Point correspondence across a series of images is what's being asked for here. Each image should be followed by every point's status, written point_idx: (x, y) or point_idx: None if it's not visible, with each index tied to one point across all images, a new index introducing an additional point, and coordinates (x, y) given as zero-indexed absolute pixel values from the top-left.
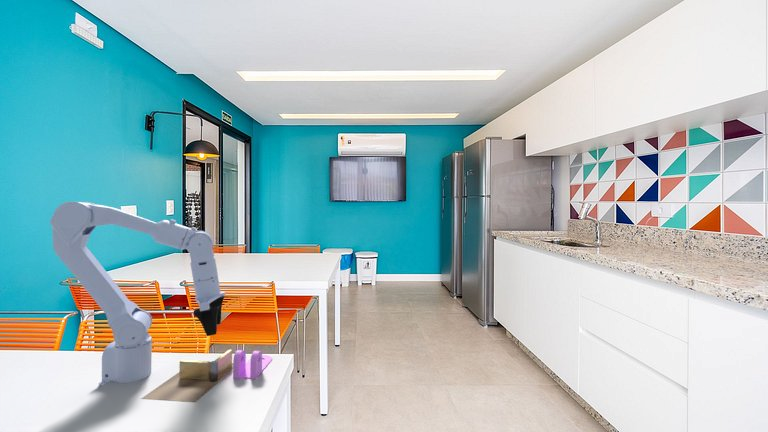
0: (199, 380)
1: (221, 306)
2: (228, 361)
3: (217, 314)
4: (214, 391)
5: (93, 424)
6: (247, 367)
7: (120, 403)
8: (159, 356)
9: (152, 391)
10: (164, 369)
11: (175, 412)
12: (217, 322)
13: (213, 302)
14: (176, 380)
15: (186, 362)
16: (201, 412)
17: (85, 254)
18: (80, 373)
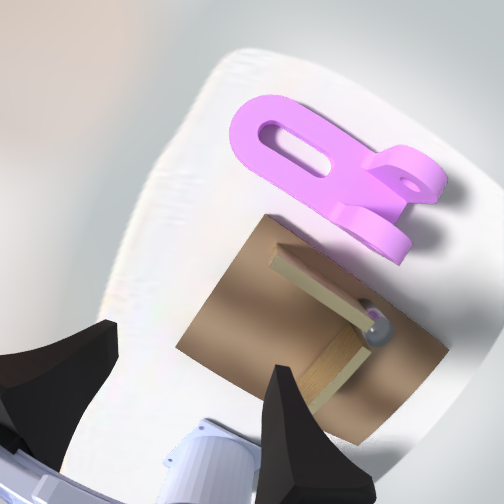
0: None
1: (39, 358)
2: (300, 264)
3: (84, 362)
4: (400, 304)
5: (382, 475)
6: (325, 193)
7: None
8: (95, 401)
9: (336, 434)
10: (182, 407)
11: (437, 379)
12: (112, 340)
13: (41, 429)
14: None
15: (317, 408)
16: (469, 332)
17: None
18: (153, 496)
